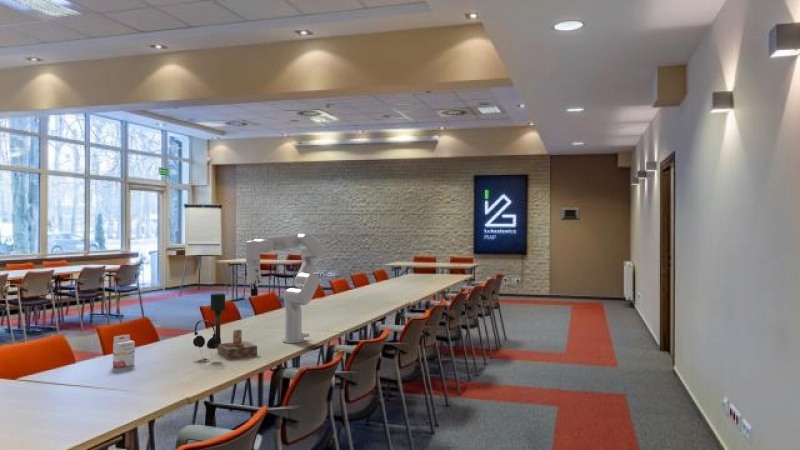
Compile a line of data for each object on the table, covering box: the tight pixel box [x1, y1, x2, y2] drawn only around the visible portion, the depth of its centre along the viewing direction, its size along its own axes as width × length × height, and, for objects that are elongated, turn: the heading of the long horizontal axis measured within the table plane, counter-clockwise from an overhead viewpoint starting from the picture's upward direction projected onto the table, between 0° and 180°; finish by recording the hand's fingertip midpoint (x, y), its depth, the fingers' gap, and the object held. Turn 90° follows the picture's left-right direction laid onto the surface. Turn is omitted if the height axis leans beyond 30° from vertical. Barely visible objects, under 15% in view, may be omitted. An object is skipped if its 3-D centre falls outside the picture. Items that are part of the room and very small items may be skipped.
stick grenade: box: [209, 292, 227, 349], centre depth 322 cm, size 8×9×30 cm
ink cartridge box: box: [112, 334, 136, 369], centre depth 279 cm, size 9×5×15 cm, turn 145°
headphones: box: [192, 319, 219, 364], centre depth 291 cm, size 15×11×20 cm
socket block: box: [217, 340, 258, 360], centre depth 304 cm, size 16×16×5 cm
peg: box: [230, 328, 244, 346], centre depth 304 cm, size 6×6×13 cm
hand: (254, 295), depth 315 cm, fingers closed
